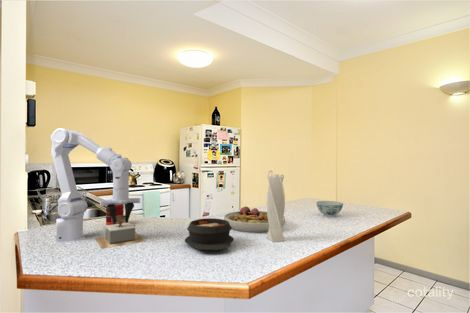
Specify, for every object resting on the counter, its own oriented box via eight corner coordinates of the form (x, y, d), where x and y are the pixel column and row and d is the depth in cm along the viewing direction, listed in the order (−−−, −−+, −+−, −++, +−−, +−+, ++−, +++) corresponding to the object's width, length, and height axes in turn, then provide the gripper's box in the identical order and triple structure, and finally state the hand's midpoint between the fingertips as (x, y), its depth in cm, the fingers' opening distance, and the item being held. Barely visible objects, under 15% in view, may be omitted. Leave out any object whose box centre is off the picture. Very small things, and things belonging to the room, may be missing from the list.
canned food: (126, 223, 135) (126, 201, 135) (117, 227, 127) (118, 204, 127) (111, 223, 135) (112, 201, 136) (102, 227, 127) (102, 203, 128)
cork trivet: (101, 250, 94) (101, 248, 94) (94, 239, 107) (94, 238, 107) (147, 242, 103) (147, 241, 103) (135, 233, 116) (135, 232, 116)
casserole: (183, 236, 112) (183, 216, 112) (226, 234, 117) (226, 214, 117) (186, 257, 88) (187, 231, 88) (241, 253, 92) (241, 228, 93)
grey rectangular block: (110, 244, 99) (110, 230, 99) (105, 238, 106) (105, 225, 106) (137, 240, 105) (137, 226, 105) (131, 234, 112) (131, 222, 112)
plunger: (112, 239, 100) (112, 218, 100) (108, 234, 106) (109, 215, 106) (131, 236, 104) (132, 216, 105) (127, 232, 110) (127, 213, 110)
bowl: (297, 231, 124) (297, 214, 124) (237, 237, 113) (237, 218, 113) (266, 218, 152) (266, 204, 152) (216, 222, 141) (216, 207, 141)
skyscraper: (262, 237, 111) (262, 170, 112) (278, 236, 114) (278, 170, 114) (271, 243, 104) (272, 171, 104) (288, 241, 106) (288, 170, 107)
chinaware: (345, 215, 161) (345, 202, 161) (340, 219, 148) (340, 205, 148) (319, 212, 169) (319, 200, 169) (313, 216, 156) (313, 203, 156)
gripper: (102, 190, 98) (101, 227, 98) (142, 188, 107) (142, 222, 106) (99, 188, 104) (98, 223, 104) (137, 186, 112) (137, 219, 112)
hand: (120, 222), depth 105 cm, fingers closed on plunger, 4 cm apart
